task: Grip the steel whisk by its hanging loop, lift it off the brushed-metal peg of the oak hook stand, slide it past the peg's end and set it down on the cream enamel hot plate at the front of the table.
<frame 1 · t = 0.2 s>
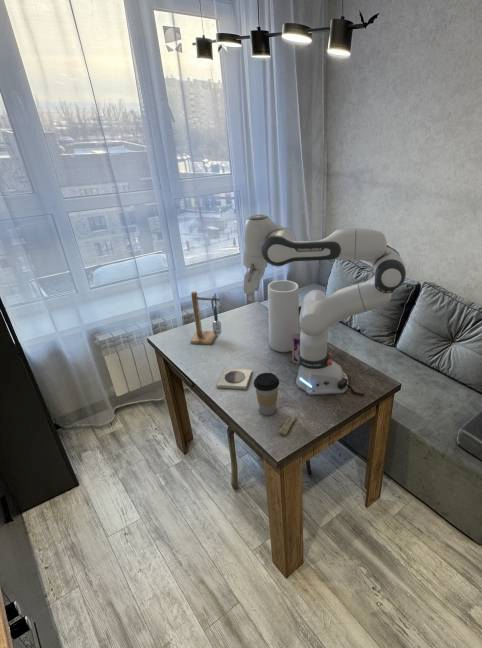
hand: (253, 294, 151), 39 cm above the table, tool pointing down, fingers open, 8 cm apart
vase: (284, 345, 195), on the table
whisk: (217, 335, 196), point 3 cm above the table, touching hook stand
hot plate: (235, 379, 169), on the table
hook stand: (204, 338, 197), on the table
greeting card: (305, 362, 183), on the table
snack bar: (287, 426, 146), on the table
coffee cup: (267, 410, 154), on the table
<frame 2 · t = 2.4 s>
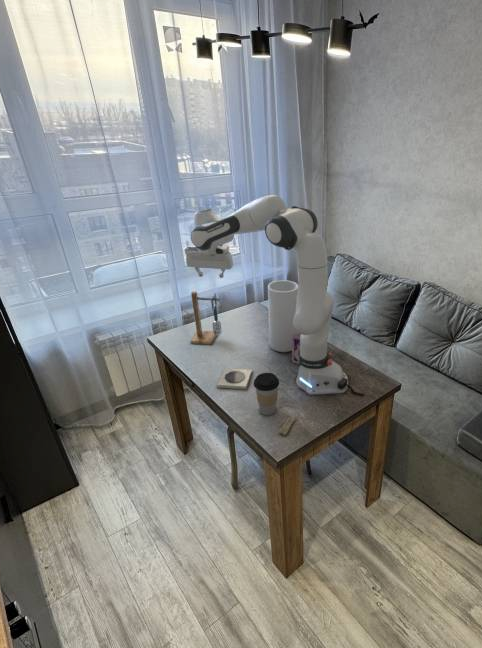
hand: (211, 276, 180), 33 cm above the table, tool pointing down, fingers open, 8 cm apart
nothing on the table moved.
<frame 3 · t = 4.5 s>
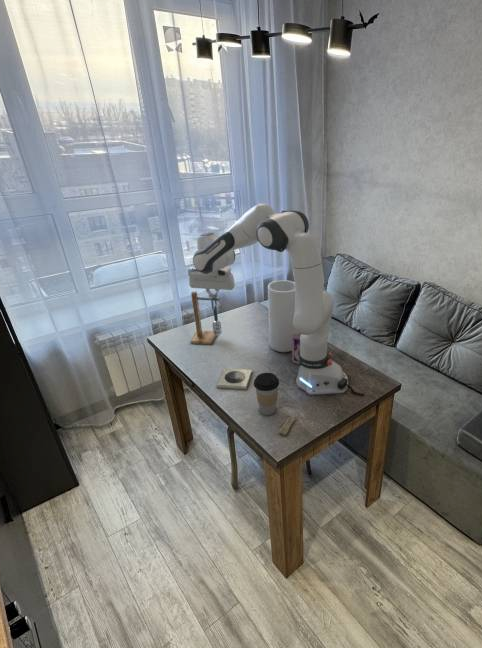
hand: (213, 296, 185), 23 cm above the table, tool pointing down, fingers closed on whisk
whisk: (217, 335, 196), point 3 cm above the table, touching gripper, hook stand
everything else where it was.
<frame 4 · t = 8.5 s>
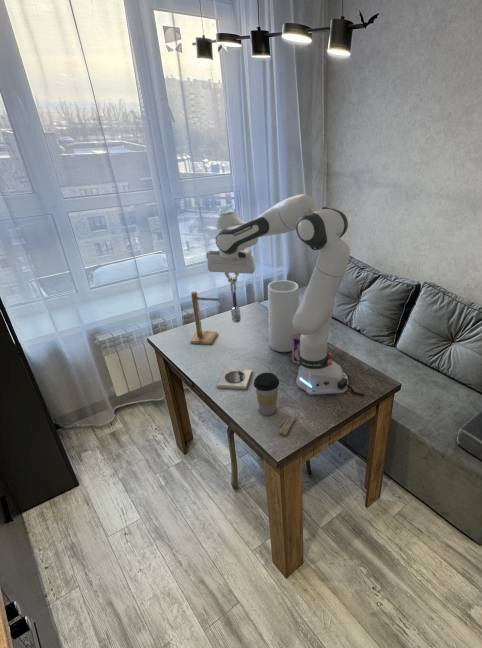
hand: (232, 281, 176), 34 cm above the table, tool pointing down, fingers closed on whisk
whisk: (236, 322, 186), point 13 cm above the table, touching gripper
everything else where it was.
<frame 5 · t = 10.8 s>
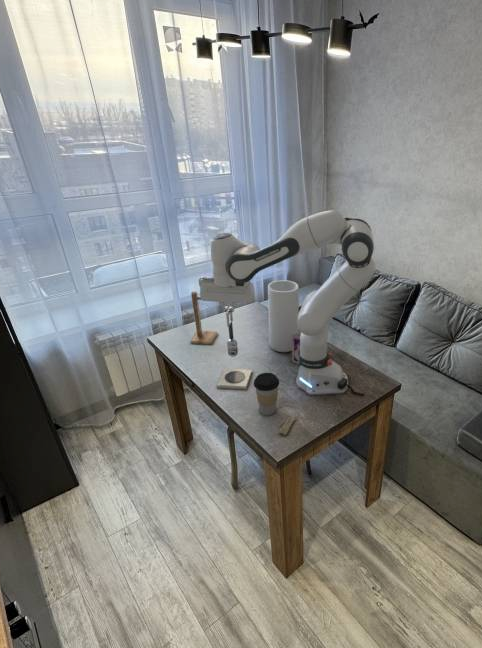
hand: (229, 311, 154), 32 cm above the table, tool pointing down, fingers closed on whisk
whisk: (233, 355, 164), point 12 cm above the table, touching gripper
everything else where it was.
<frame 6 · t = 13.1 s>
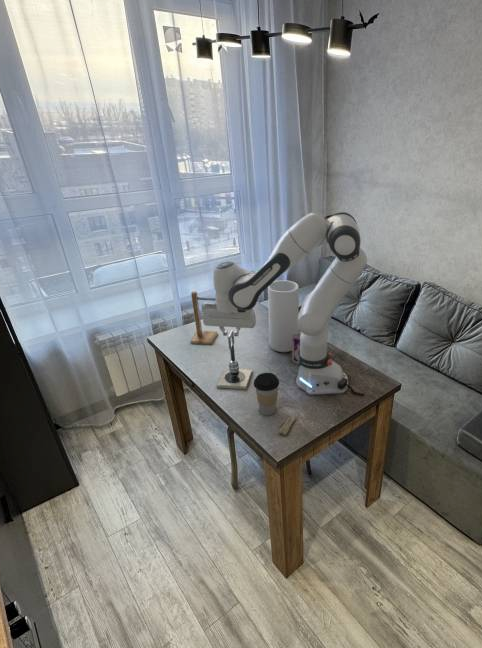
hand: (231, 335, 158), 22 cm above the table, tool pointing down, fingers open, 3 cm apart
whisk: (234, 376, 169), point 2 cm above the table, touching hot plate
everything else where it was.
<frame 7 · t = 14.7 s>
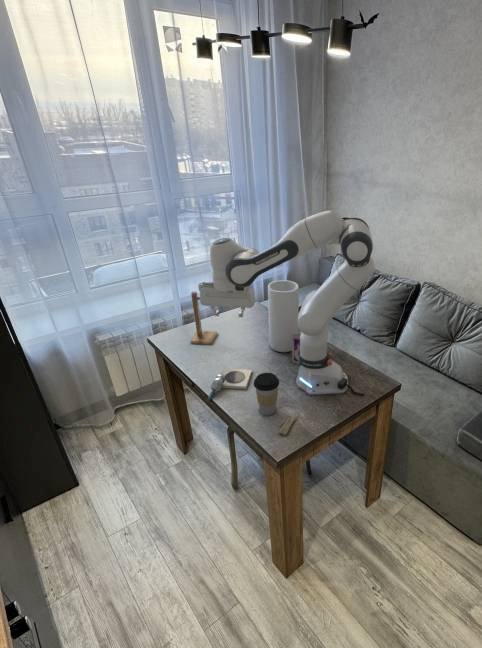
hand: (229, 315, 154), 31 cm above the table, tool pointing down, fingers open, 8 cm apart
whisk: (222, 374, 164), point 5 cm above the table, tilted 115°, touching hot plate
everything else where it was.
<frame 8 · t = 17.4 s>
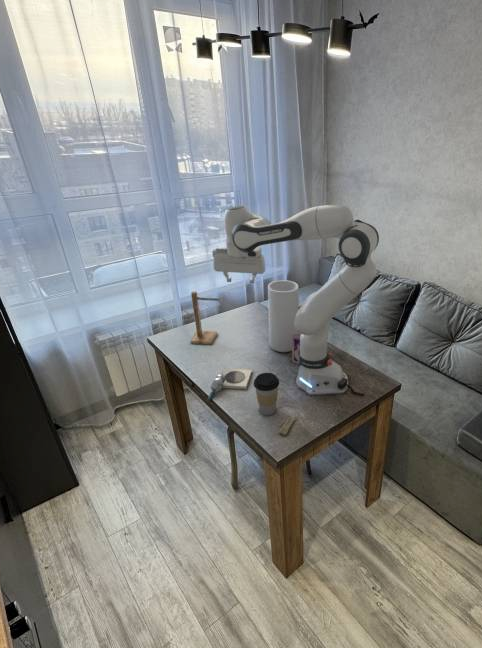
hand: (240, 282, 161), 39 cm above the table, tool pointing down, fingers open, 8 cm apart
nothing on the table moved.
at the end: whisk touching hot plate, table; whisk inside the target area on the hot plate (5.2 cm from its centre), point 4.9 cm above the hot plate's base; the gripper is holding nothing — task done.
